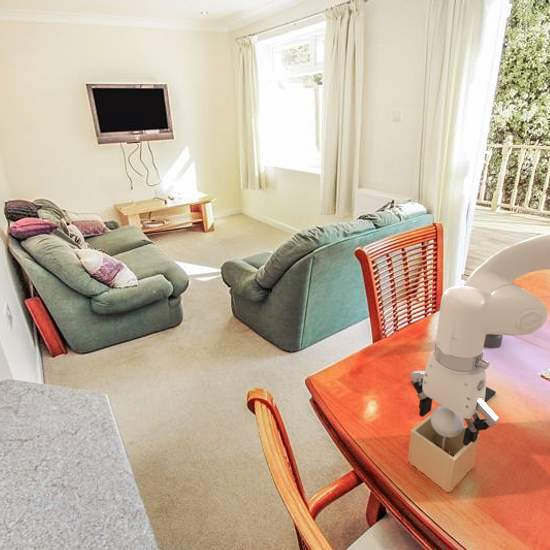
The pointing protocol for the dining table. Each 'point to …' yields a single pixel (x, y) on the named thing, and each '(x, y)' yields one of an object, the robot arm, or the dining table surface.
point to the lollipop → (446, 423)
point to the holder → (441, 454)
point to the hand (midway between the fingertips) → (445, 426)
